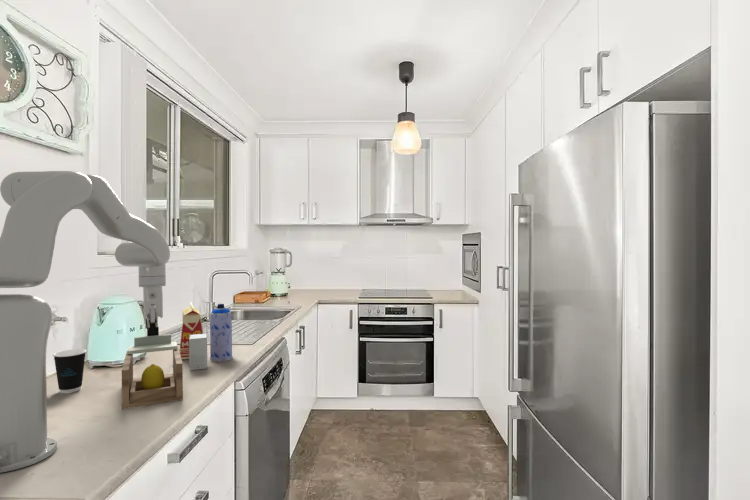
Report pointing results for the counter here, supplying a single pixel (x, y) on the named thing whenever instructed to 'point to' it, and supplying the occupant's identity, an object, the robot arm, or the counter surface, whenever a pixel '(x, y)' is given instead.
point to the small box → (198, 351)
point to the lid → (152, 344)
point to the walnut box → (140, 397)
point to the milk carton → (189, 329)
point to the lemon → (152, 377)
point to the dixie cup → (69, 369)
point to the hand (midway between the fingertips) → (153, 339)
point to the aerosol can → (220, 334)
